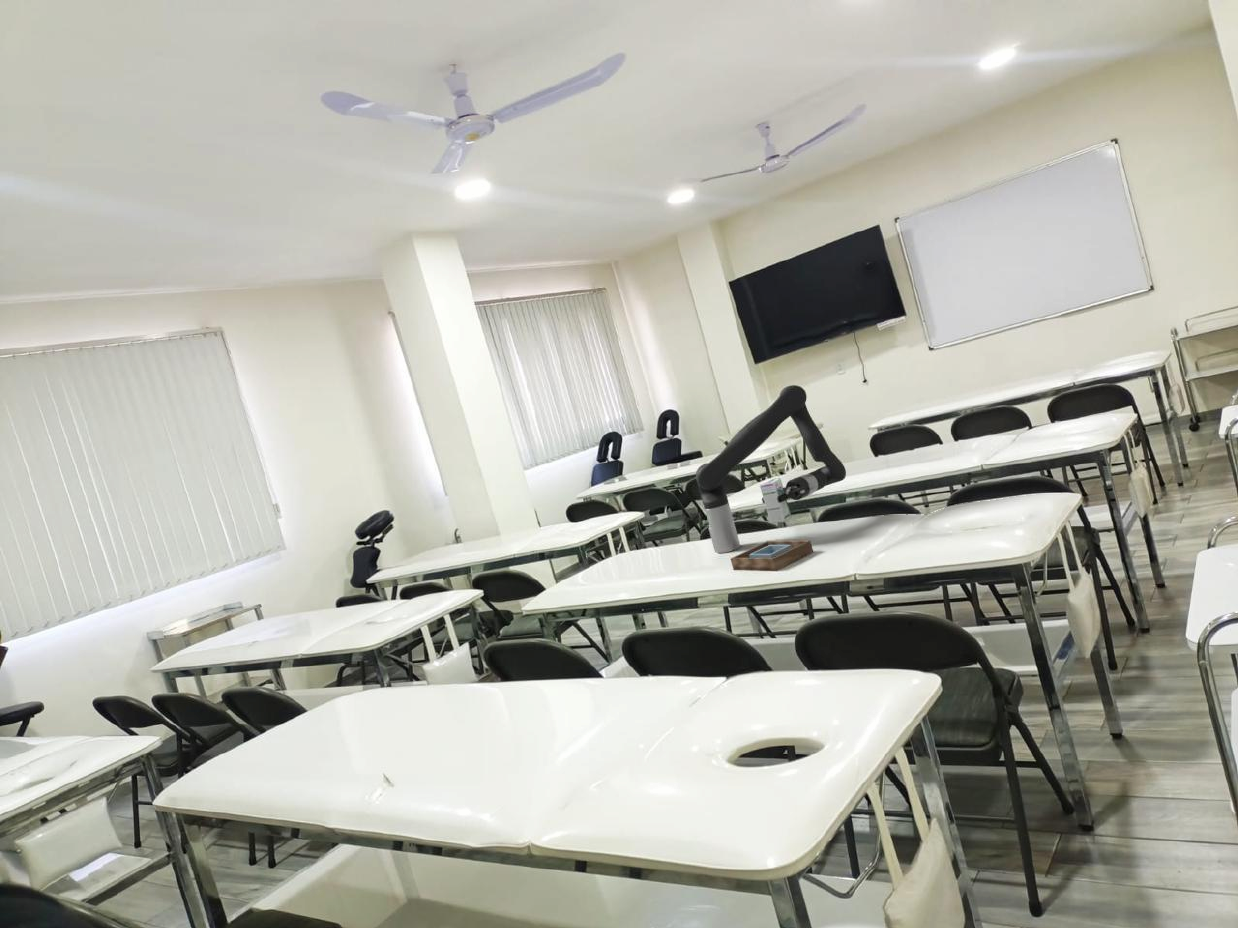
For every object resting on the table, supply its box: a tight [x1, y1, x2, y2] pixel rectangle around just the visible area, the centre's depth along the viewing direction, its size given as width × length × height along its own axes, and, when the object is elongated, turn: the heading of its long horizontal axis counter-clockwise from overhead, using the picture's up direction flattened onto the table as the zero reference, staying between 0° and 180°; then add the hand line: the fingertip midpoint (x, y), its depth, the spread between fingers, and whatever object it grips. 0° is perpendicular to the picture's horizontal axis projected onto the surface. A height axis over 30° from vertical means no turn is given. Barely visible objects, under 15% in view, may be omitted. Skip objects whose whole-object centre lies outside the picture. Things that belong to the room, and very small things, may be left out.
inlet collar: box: [749, 545, 792, 558], centre depth 270 cm, size 10×10×3 cm
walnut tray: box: [730, 540, 814, 572], centre depth 270 cm, size 20×18×4 cm
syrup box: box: [759, 477, 792, 524], centre depth 283 cm, size 6×6×14 cm
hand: (770, 500), depth 282 cm, fingers closed on syrup box, 7 cm apart
